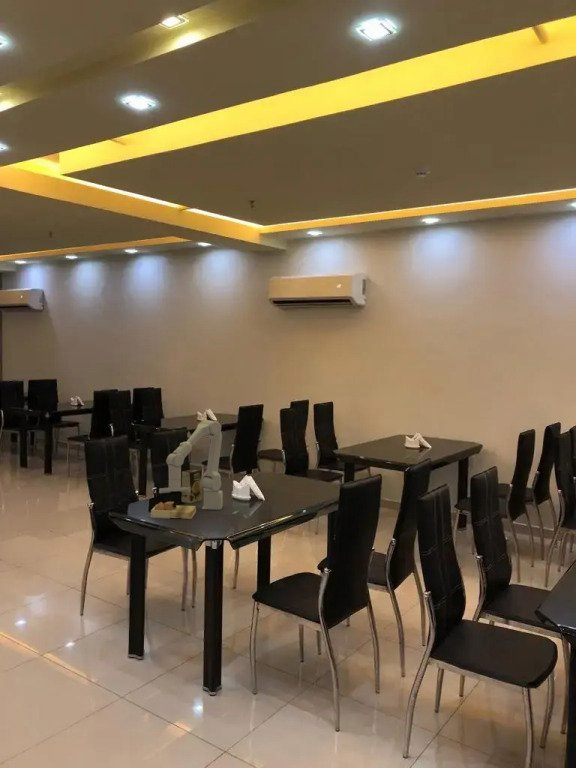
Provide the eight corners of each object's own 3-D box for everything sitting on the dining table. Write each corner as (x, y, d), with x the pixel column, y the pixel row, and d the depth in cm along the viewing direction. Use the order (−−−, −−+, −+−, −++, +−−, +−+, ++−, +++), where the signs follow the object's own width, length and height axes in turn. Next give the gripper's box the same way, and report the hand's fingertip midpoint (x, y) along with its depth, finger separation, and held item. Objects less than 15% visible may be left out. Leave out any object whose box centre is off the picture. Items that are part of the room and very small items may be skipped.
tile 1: (161, 501, 298) (157, 504, 299) (158, 503, 294) (154, 507, 294) (167, 509, 298) (163, 512, 298) (164, 511, 294) (160, 514, 294)
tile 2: (176, 506, 298) (176, 501, 298) (172, 508, 294) (172, 503, 294) (168, 506, 300) (167, 501, 300) (163, 508, 295) (163, 503, 295)
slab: (195, 512, 302) (196, 505, 301) (191, 518, 289) (191, 512, 288) (175, 511, 302) (175, 505, 302) (170, 518, 289) (170, 512, 289)
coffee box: (191, 503, 319) (191, 472, 318) (181, 502, 322) (181, 471, 322) (201, 500, 327) (202, 469, 326) (192, 498, 330) (192, 468, 330)
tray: (175, 511, 302) (175, 504, 301) (170, 518, 289) (170, 510, 289) (156, 511, 302) (157, 504, 301) (150, 518, 289) (150, 510, 289)
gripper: (189, 476, 300) (189, 504, 301) (158, 478, 297) (159, 506, 297) (190, 479, 293) (190, 507, 294) (159, 480, 290) (159, 509, 290)
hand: (174, 507), depth 295 cm, fingers closed, pressing on tile 2
